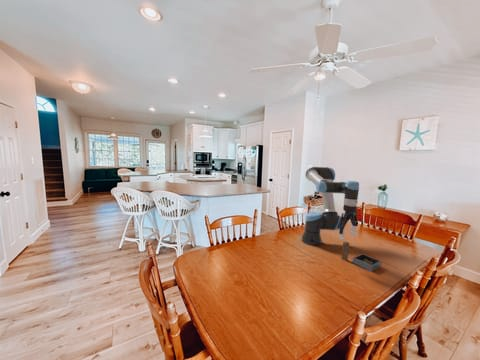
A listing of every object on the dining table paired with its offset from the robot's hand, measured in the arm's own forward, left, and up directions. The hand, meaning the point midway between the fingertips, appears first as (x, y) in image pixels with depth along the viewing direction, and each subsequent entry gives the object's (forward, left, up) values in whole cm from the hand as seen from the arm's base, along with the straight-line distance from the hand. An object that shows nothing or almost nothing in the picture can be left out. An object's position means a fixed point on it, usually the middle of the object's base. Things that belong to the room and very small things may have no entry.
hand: (347, 236), depth 133 cm
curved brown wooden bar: (0, 0, -16) cm, 16 cm away
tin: (+11, +6, -16) cm, 20 cm away
